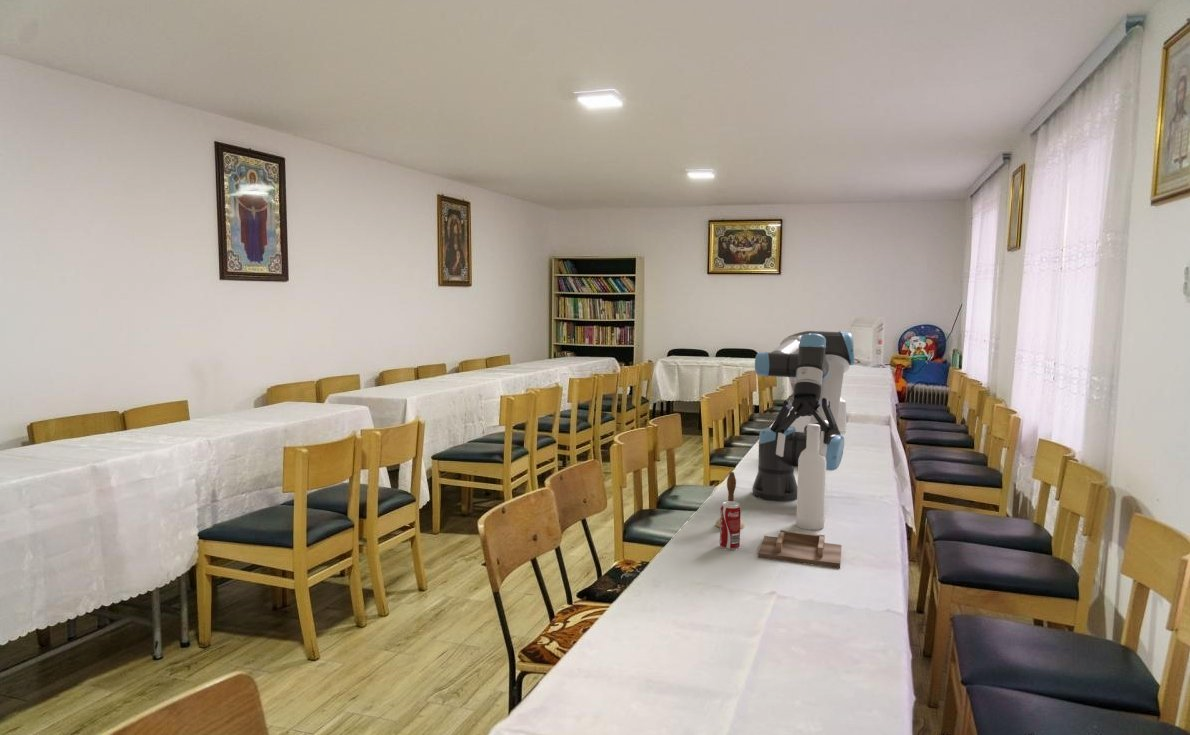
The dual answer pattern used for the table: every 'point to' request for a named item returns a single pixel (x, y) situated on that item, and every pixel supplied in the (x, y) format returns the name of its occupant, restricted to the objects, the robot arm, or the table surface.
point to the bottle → (811, 483)
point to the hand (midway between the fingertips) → (800, 455)
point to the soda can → (730, 525)
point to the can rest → (801, 549)
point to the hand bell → (731, 493)
